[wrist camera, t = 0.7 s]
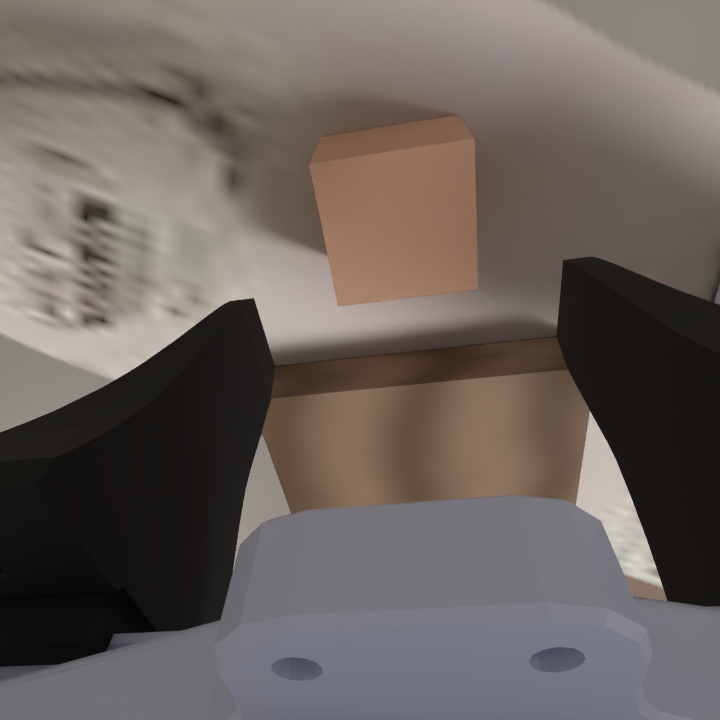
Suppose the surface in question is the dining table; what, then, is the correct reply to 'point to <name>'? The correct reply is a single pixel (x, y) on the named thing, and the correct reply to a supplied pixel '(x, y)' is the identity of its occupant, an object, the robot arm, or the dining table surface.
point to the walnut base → (428, 426)
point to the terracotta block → (398, 209)
